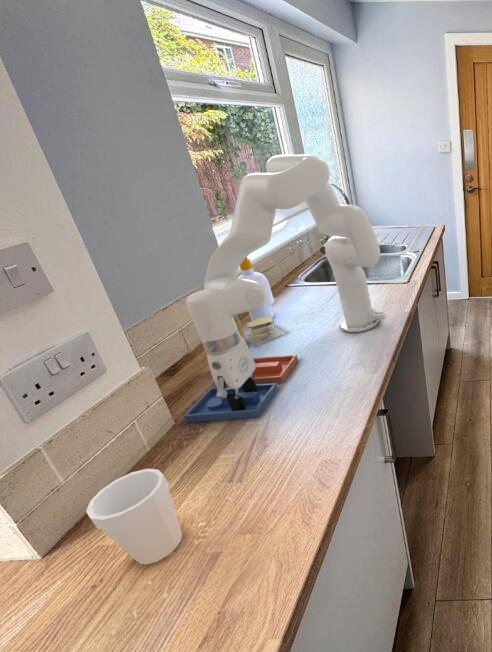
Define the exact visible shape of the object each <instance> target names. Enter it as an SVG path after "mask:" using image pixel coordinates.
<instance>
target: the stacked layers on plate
mask: <svg viewBox="0 0 492 652" xmlns="http://www.w3.org/2000/svg"><path fill="white" fill-rule="evenodd" d="M273 320H274V317H273V318H268V317H262V318H259V319H256V320H254V321H252V320H251V321H250V322H247V323H246V325H247V326H248V327H247V329H248V330H250V332H249V334H250V335H249V336H247V337H246V336H245V338H246V341H247V342H248V343H250V344H252V345H253V346H255V347H257V346H259V345H262V344H264V343H267V342H269V341H272V340H273V339H276V338H279V337H281V336H284V335H285V334H286V332H285V331H284V330H282V329H279V328H277V327H276V326H275V321H273Z"/></svg>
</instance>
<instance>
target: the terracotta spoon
mask: <svg viewBox="0 0 492 652" xmlns="http://www.w3.org/2000/svg"><path fill="white" fill-rule="evenodd" d="M255 364H256V368H255V370H254V372H253V375H254V374H268V373H279V372H280V371H281V369H282V366H281V363H280V362H266V363H255Z"/></svg>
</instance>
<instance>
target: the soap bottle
mask: <svg viewBox="0 0 492 652" xmlns="http://www.w3.org/2000/svg"><path fill="white" fill-rule="evenodd" d="M239 268H240V272H241V274H240V275H239V276H238V277H237V278H241V279H247V280H252V281H256V282H258V283H259V284H261V285H262V286H263V287H264V289H265V291H266V297H265V300H264V302H263V303H262V304H261V305H260V306H259V307H257V308H256V309H254V310H251V311H248V314H249V318H250V320H251V322H252V321H254V320H256V319H259V318H262V317H268V318H273V319H274V317H275V313H274V309H273V307H272V305H273V304H274V302H275V299H274V295H273V292H272V289H271V286H270V283H269V280H268V278H267V277H266V276H265V275H264V274H263V273H261V272H258V271H255V270H254V268H253V264H252V261H251V259H250V258H248V256H247V257H246V258H245V259H244V260H243V261H242V263H241V265H240V266H239Z"/></svg>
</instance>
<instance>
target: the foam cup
mask: <svg viewBox="0 0 492 652" xmlns="http://www.w3.org/2000/svg"><path fill="white" fill-rule="evenodd" d="M169 487H170V484H169V482H168V480H167V479H166V477H165V475H164V474H163V473H162V472H161V470H159V469H158V468H157V469H156V468H144V469H139V470H136V471H132V472H130V473H127V474H125V475H123V476H120V477H119V478H117V479H114V480H113V481H111V483H109V484H108V485H106V486H104V487H103V488H102V489H100V490H99V491H98V492H97V493H96V494H95V496H93V498H92V499H91V500H90V501H89V503H88V506H87V508H86V511H85V512H86V515H87V516H88V518H89V519H90V520H91V521H92V523H93V525H94V526H95V527H96V529H98V530H101V531H102V532H103V533H104V534H106V535H107V536H108V537H109V538H110V539H111V540H112V541H113V542H114V543H115V544H117V546H119V547H120V548H121V549H122V550H123V551H124V552H125V553H127V554H128V555H129V557H131V558H133V560H134V561H136V562H137V563H138V564H140V565H151V564H153V563H157V562H159V561H161V560H163V559H164V558H167V556H169V555H170V554H172V552H174V551H175V549H177V547H178V546H179V544H180V542H181V541H182V536H183V532H182V527H181V525H180V522H179V518H178V516H177V512H176V509H175V506H174V502H173V498H172V496H171V491H170V489H169Z"/></svg>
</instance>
